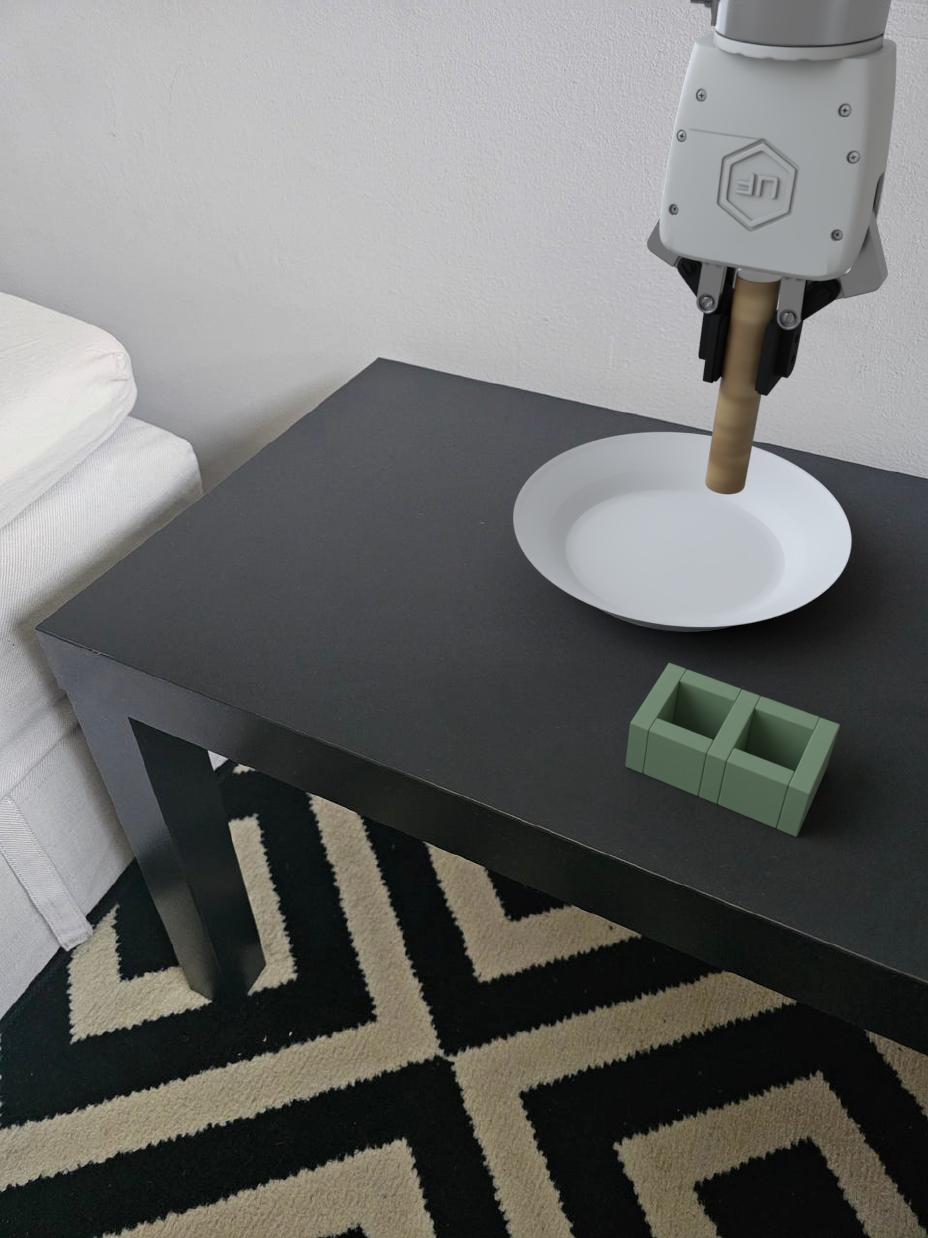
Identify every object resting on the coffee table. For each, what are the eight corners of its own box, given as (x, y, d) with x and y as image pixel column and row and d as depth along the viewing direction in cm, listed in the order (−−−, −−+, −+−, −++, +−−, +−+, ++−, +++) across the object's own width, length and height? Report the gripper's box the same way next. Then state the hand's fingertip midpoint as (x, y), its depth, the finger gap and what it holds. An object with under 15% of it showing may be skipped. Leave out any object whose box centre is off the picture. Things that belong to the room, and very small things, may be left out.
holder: (826, 768, 62) (840, 724, 59) (796, 837, 58) (810, 793, 56) (662, 706, 66) (669, 662, 64) (625, 766, 63) (629, 722, 60)
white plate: (882, 523, 81) (893, 485, 78) (769, 716, 65) (779, 676, 63) (604, 440, 92) (607, 405, 89) (451, 589, 76) (449, 551, 74)
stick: (750, 480, 62) (788, 270, 54) (737, 498, 60) (774, 285, 52) (712, 470, 63) (744, 263, 55) (699, 488, 61) (730, 278, 53)
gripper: (603, 10, 46) (586, 375, 58) (974, 36, 40) (869, 443, 52) (668, -18, 51) (640, 326, 63) (1008, 2, 44) (905, 382, 56)
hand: (743, 376), depth 57 cm, fingers closed on stick, 2 cm apart
